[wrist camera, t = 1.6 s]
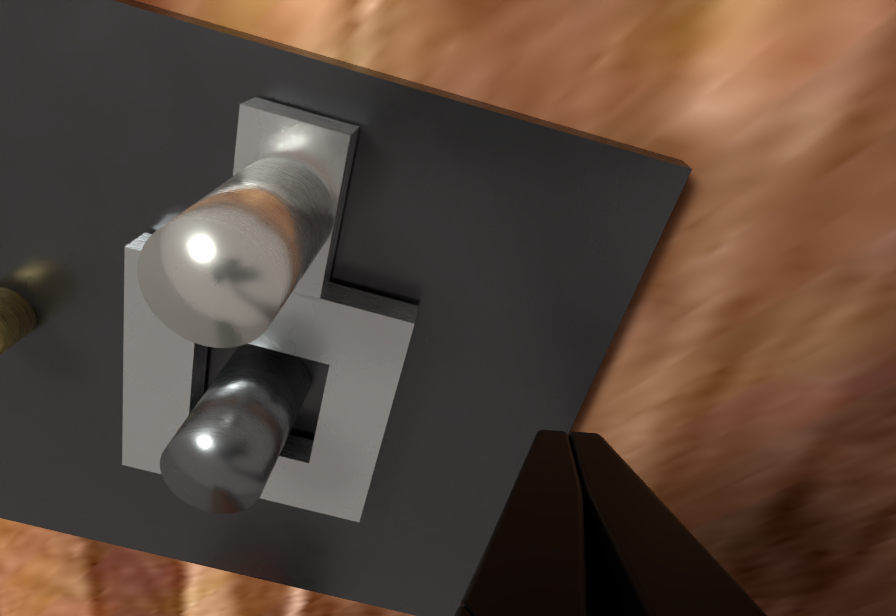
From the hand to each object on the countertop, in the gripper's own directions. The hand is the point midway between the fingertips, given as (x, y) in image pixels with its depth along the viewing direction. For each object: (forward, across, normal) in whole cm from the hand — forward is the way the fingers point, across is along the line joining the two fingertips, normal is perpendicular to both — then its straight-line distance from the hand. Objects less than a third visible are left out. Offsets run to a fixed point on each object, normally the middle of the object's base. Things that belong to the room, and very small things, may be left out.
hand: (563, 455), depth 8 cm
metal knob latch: (+11, +8, +4) cm, 14 cm away
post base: (+12, +9, +7) cm, 16 cm away
